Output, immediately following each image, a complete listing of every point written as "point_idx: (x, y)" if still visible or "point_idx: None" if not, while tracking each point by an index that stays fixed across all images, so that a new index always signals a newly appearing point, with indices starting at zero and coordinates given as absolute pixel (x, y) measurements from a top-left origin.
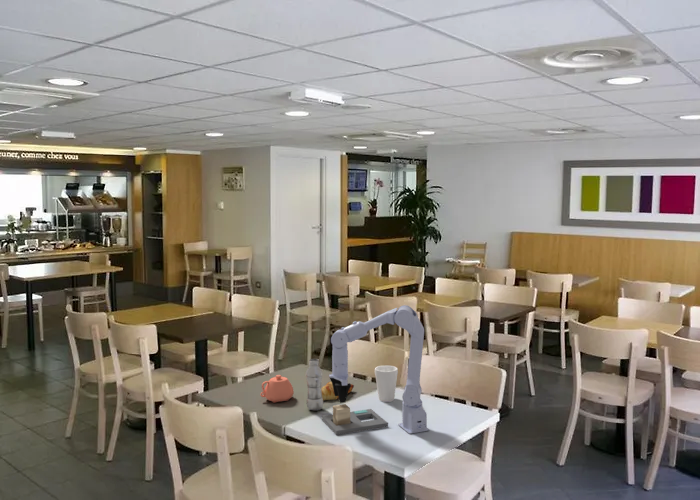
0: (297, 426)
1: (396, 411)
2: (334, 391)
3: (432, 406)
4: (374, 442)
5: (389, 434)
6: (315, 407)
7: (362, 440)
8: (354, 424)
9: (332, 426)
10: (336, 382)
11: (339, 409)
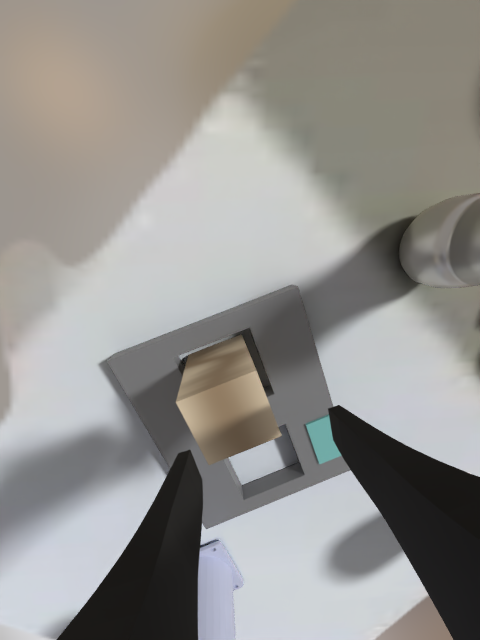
0: (218, 164)
1: (340, 524)
2: (349, 429)
3: (362, 599)
4: (56, 487)
5: (137, 522)
6: (407, 248)
7: (70, 449)
8: (188, 427)
9: (163, 342)
10: (424, 537)
11: (187, 413)
